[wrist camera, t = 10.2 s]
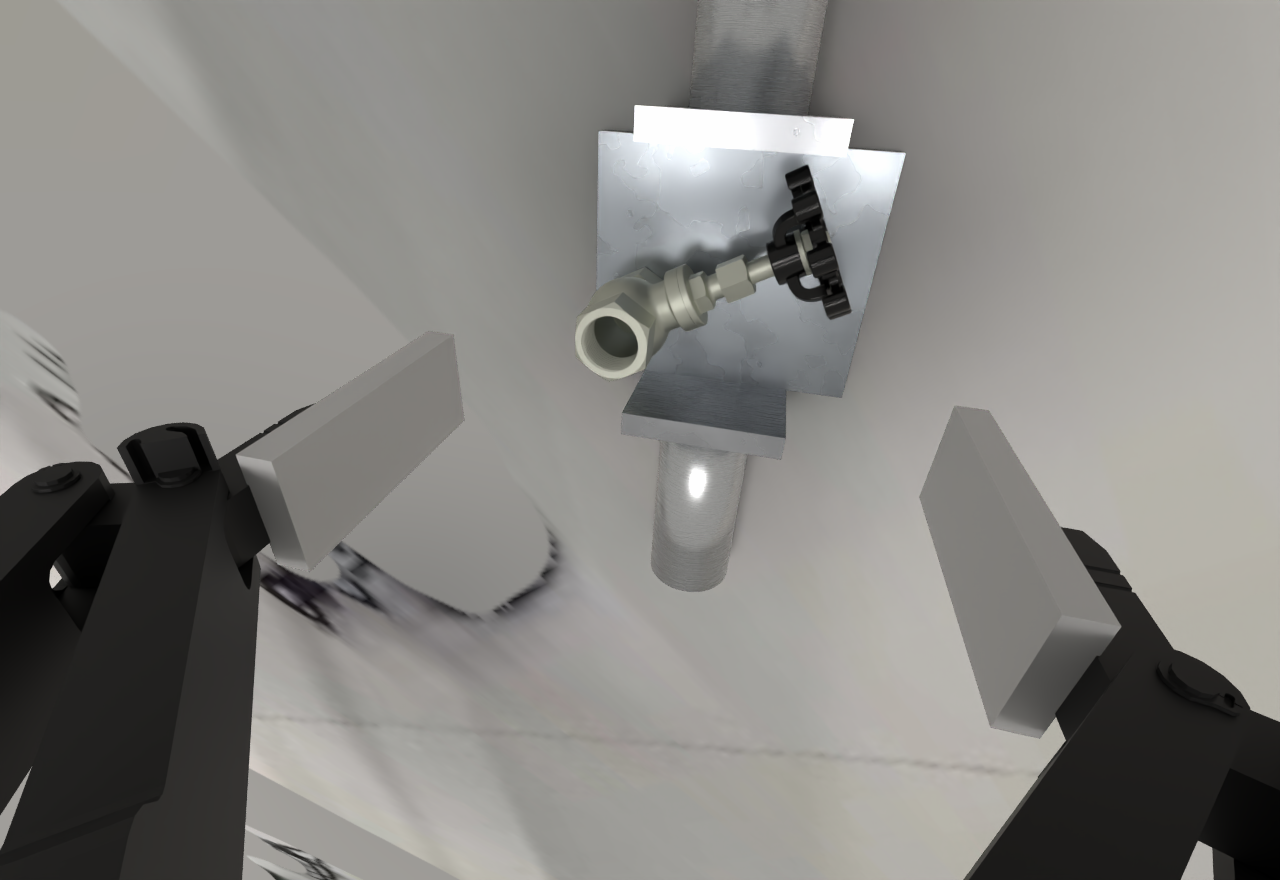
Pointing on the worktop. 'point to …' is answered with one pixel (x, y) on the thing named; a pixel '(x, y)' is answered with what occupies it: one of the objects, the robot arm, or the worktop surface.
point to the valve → (708, 290)
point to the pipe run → (724, 229)
